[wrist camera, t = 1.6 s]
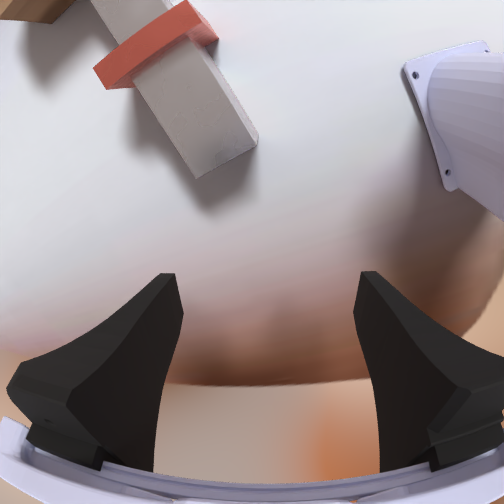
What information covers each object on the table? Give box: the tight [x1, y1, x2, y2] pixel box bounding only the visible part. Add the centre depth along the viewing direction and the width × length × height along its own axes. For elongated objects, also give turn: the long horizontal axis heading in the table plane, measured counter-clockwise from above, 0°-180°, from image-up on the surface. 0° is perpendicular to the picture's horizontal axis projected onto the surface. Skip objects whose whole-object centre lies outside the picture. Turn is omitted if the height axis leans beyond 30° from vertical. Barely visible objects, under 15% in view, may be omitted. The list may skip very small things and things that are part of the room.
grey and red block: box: [90, 0, 258, 179], centre depth 13 cm, size 16×6×5 cm, turn 29°
